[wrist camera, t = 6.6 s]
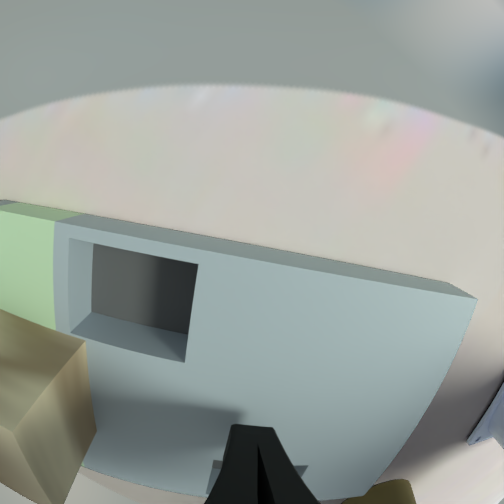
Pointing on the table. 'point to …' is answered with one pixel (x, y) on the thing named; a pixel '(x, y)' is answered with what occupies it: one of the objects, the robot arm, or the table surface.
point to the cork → (386, 494)
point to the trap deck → (231, 346)
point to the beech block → (42, 409)
